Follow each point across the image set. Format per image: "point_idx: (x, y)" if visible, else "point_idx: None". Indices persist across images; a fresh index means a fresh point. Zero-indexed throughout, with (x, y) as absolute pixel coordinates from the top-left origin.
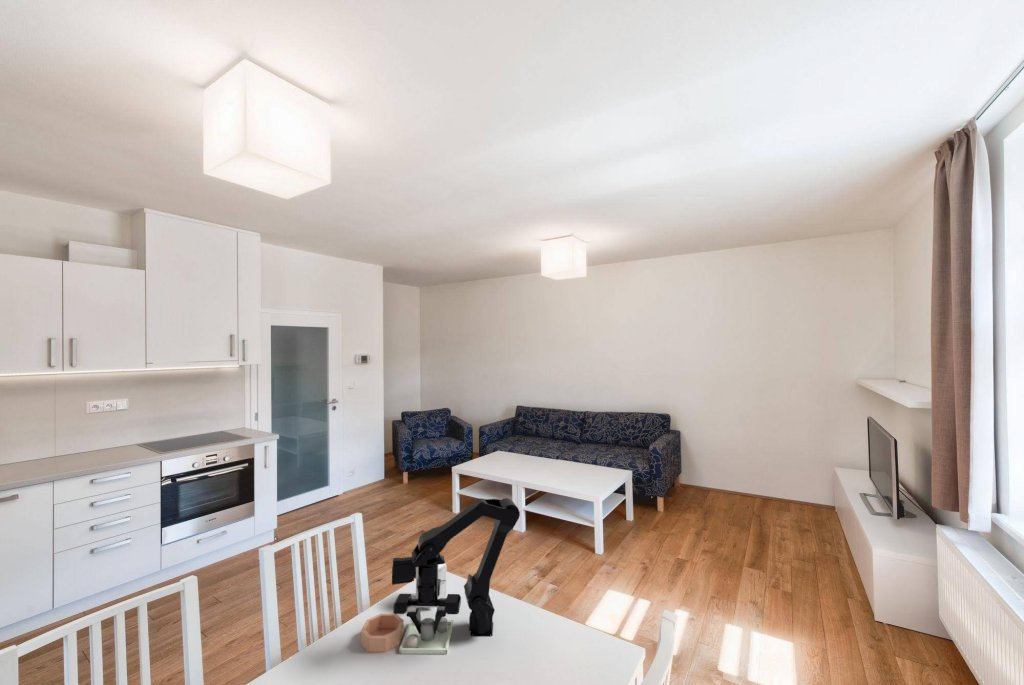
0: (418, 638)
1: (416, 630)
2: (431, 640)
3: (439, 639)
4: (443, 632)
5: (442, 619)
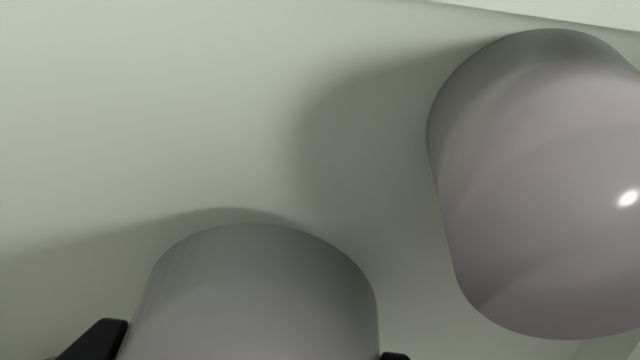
0: (122, 281)
1: (11, 88)
2: None
3: (450, 337)
4: None
5: (619, 208)
